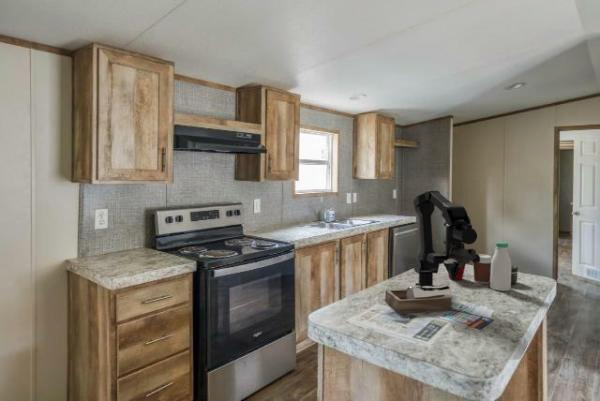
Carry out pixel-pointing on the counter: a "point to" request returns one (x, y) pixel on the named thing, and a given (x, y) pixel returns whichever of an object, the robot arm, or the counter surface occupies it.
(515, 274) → the jar
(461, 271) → the plastic cup
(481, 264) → the coffee cup
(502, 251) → the milk bottle
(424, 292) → the beer glass
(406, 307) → the wooden tray
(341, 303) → the counter surface
